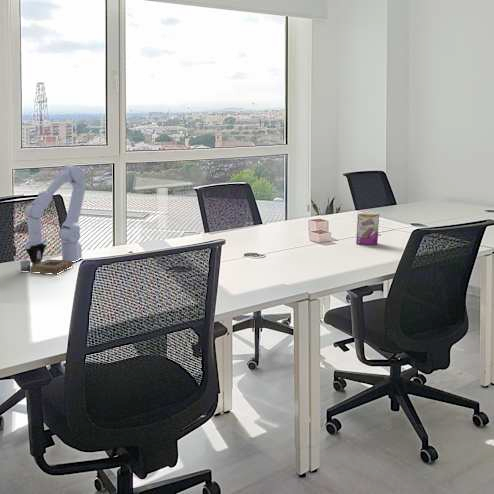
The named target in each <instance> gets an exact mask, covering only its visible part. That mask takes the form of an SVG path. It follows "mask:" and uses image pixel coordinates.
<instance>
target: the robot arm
mask: <svg viewBox="0 0 494 494" xmlns="http://www.w3.org/2000/svg"><path fill="white" fill-rule="evenodd" d="M85 176H86V172H85V171H84V170H83V169H82V167H80V166H77V165H76V166H73V165H70V164H67V165H66V164H65V165H64V166H63V167H62V168H61V169H60V170H59V171H58V174H57V176H56V177H54V180H53V181H52V182H51V183H50V185H49V186H48V187H47V189H46V190H42V191H41V192H40V191H39V192H38V194H37V197H36V198H35V199H34V200H33V201H32V202H31V204H28V205H27V206H26V208H25V210H24V214H25V216H26V217H27V231H28V232H27V234H28V240H26V243H25V244H24V249H25V251H26V253H27V254H28V256H29V258H30V263H31V264H32V263H36V262H37V252H38V249H39V250H41V261H42V260H43V256H44V252H45V249H46V248H47V244H46V243H47V238H46V237H43V232H42V231H43V230H42V217H43V215H44V210H45V209H46V208H47V207H48V205H49V204H50V203H51V202H52V201H53V196H54V194H55V193H56V192H57V191H58V190H59V189H60V188H61V187H62V186H63V185H64V184H65V183H70V185H71V186H72V192H71V196H70V201H69V205H68V209H67V210H68V211H67V213H66V214H67V215H66V219H65V221H64V222H63V223H62V224H61V227H60V229H59V230H58V237H59V238H60V240H61V255H62V259H61V260H66V261H76V260H78V259H79V258H81V257H82V258H83V256H82V255H83V253H82V244H81V243H80V242H79V240H80V238H81V233H80V230H81V227H80V225H79V218H80V215H81V210H82V206H83V203H84V201H83V200H84V198H85V193H86V188H87V184H86V182H87V181H86V179H85Z"/></svg>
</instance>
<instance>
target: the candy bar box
mask: <svg viewBox="0 0 494 494" xmlns="http://www.w3.org/2000/svg"><path fill="white" fill-rule="evenodd" d="M356 218H357V219H356V234H355V235H356V236H355V238H356V240H355V242H356V243H355V244H356V245H374V246H375V245H376V246H377V245H378V241H379V240H378V239H379V237H378V236H379V222H380V221H379V219H380V214H379V213H378V212H359V211H358V212H357V217H356Z"/></svg>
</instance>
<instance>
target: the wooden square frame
mask: <svg viewBox="0 0 494 494" xmlns="http://www.w3.org/2000/svg"><path fill="white" fill-rule="evenodd" d="M73 265H74V263H72V261H66V260H62V259H53V258H52V259H50V258H48V259H46V260H43V261H41V262H40V263H38V264H36V265H33V266H31V265H30V268H31V272H30V273H32V272H40V273H52V274H57V273H59V272H61V271H63V270H65V269H67V268H69V267H71V266H73Z"/></svg>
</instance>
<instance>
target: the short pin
mask: <svg viewBox="0 0 494 494" xmlns="http://www.w3.org/2000/svg"><path fill="white" fill-rule="evenodd" d="M19 262H20V272H21V271H30V270H31V260H27V259H26V260H21V261H19Z"/></svg>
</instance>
